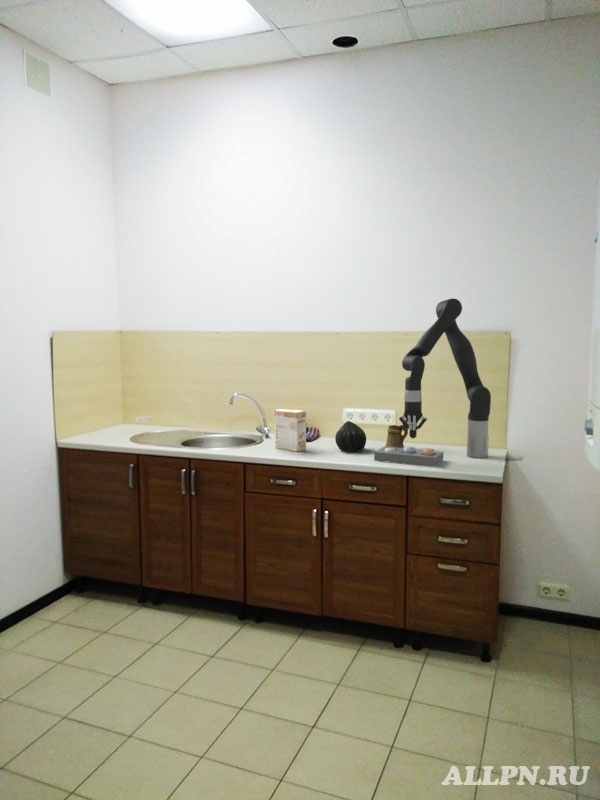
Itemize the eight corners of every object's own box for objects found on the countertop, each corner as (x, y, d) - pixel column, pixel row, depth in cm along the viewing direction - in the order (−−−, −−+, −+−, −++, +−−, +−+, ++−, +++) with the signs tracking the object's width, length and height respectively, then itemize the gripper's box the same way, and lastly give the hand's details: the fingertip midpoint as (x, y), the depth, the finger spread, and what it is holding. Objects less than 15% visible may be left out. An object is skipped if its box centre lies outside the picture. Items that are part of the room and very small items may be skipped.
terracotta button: (435, 455, 276) (435, 448, 275) (432, 457, 272) (432, 450, 271) (424, 454, 278) (424, 447, 278) (421, 456, 274) (421, 449, 273)
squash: (364, 443, 290) (365, 417, 298) (333, 444, 292) (334, 417, 301) (366, 458, 301) (367, 432, 310) (336, 458, 304) (337, 432, 312)
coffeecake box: (306, 449, 302) (306, 410, 300) (296, 452, 297) (296, 412, 295) (284, 445, 312) (284, 407, 310) (274, 448, 307) (274, 409, 305)
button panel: (443, 460, 279) (443, 451, 279) (435, 466, 267) (435, 457, 266) (384, 454, 292) (384, 446, 291) (374, 460, 279) (374, 451, 279)
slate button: (415, 453, 280) (415, 447, 279) (412, 456, 276) (412, 449, 275) (405, 452, 282) (405, 446, 282) (402, 454, 278) (402, 448, 277)
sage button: (396, 455, 284) (396, 448, 284) (393, 457, 280) (393, 450, 279) (386, 454, 286) (386, 447, 286) (383, 456, 282) (383, 449, 281)
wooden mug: (409, 451, 298) (409, 415, 296) (382, 449, 304) (383, 413, 302) (414, 448, 306) (415, 412, 303) (388, 445, 312) (389, 410, 310)
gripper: (429, 399, 276) (429, 437, 278) (401, 398, 282) (401, 435, 284) (425, 401, 269) (425, 440, 271) (396, 400, 275) (396, 438, 277)
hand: (412, 438), depth 278 cm, fingers closed
